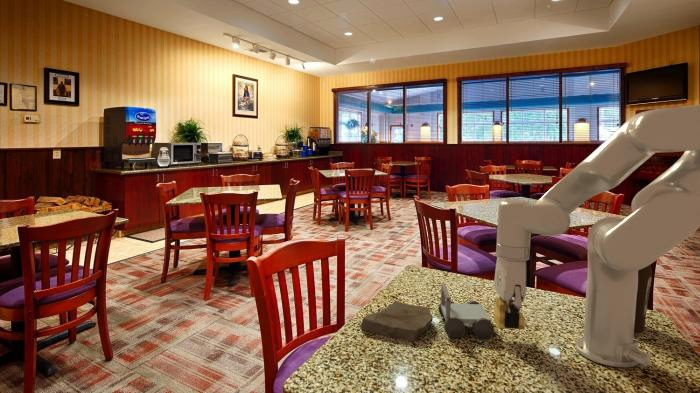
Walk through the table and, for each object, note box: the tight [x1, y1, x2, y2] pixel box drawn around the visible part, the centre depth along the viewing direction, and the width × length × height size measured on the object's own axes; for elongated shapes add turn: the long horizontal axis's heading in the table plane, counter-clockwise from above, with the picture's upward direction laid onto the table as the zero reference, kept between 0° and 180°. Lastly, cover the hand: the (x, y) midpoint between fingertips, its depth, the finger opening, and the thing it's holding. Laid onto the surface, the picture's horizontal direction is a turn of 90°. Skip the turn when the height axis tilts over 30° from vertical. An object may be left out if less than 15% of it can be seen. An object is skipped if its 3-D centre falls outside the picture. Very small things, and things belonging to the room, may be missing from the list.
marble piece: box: [360, 301, 434, 342], centre depth 108 cm, size 17×15×4 cm
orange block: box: [493, 297, 526, 330], centre depth 99 cm, size 6×4×6 cm
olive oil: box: [634, 264, 653, 334], centre depth 105 cm, size 11×11×25 cm
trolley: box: [438, 283, 495, 340], centre depth 106 cm, size 12×13×10 cm
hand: (508, 322), depth 99 cm, fingers closed on orange block, 4 cm apart
